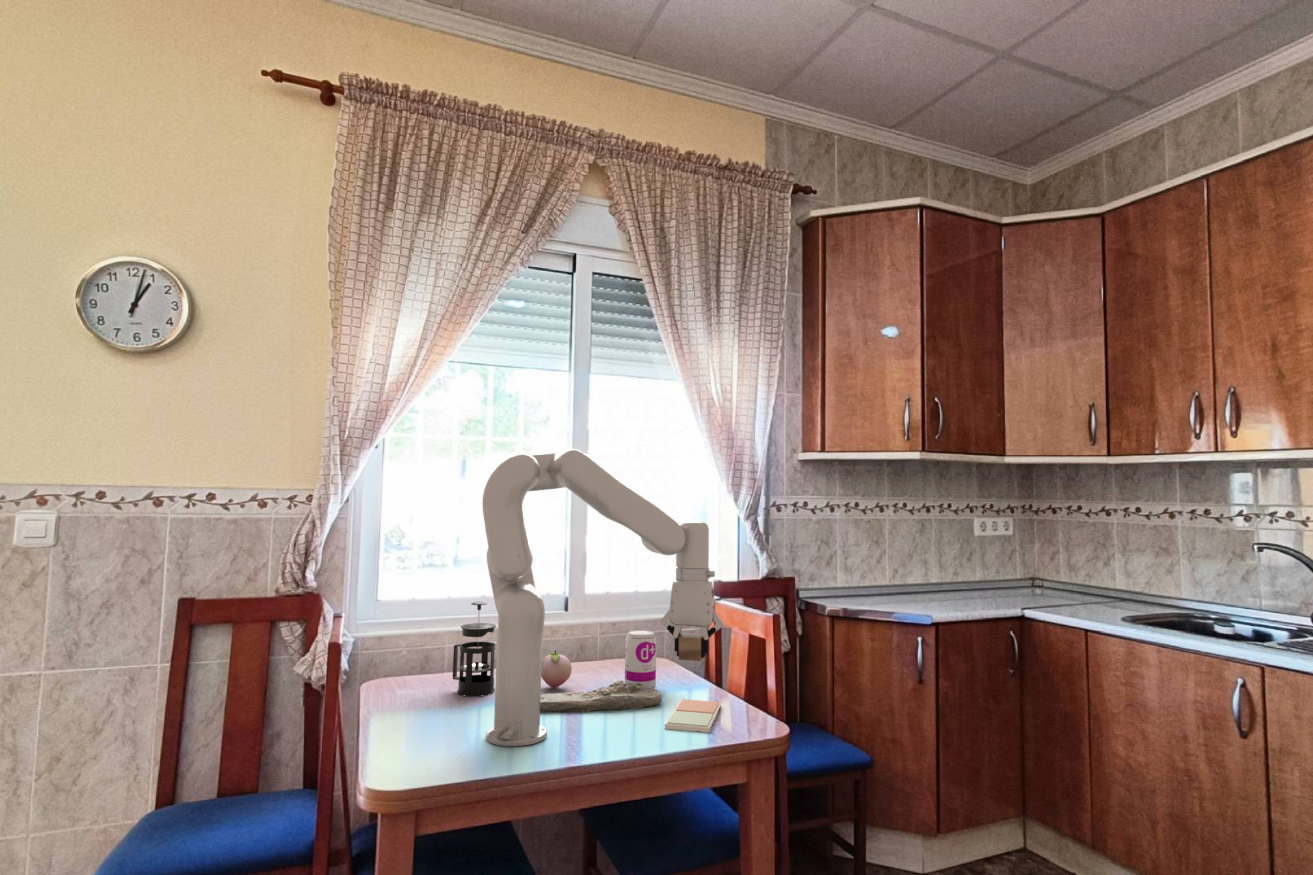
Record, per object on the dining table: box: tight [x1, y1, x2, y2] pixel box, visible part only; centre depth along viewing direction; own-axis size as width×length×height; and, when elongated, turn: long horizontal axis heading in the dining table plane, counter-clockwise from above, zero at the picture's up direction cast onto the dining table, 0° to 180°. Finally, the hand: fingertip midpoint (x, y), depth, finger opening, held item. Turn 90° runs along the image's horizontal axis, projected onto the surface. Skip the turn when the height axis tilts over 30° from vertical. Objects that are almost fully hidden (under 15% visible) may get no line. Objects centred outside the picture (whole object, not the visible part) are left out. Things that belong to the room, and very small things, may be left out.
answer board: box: [664, 698, 722, 733], centre depth 166 cm, size 20×10×1 cm, turn 167°
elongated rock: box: [540, 680, 663, 713], centre depth 174 cm, size 35×5×10 cm
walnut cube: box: [678, 632, 703, 662], centre depth 163 cm, size 5×5×5 cm
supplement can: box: [624, 629, 657, 690], centre depth 190 cm, size 8×8×15 cm
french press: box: [452, 601, 497, 697], centre depth 186 cm, size 12×9×23 cm
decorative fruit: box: [541, 650, 573, 690], centre depth 190 cm, size 9×8×10 cm
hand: (691, 654), depth 163 cm, fingers closed on walnut cube, 5 cm apart
